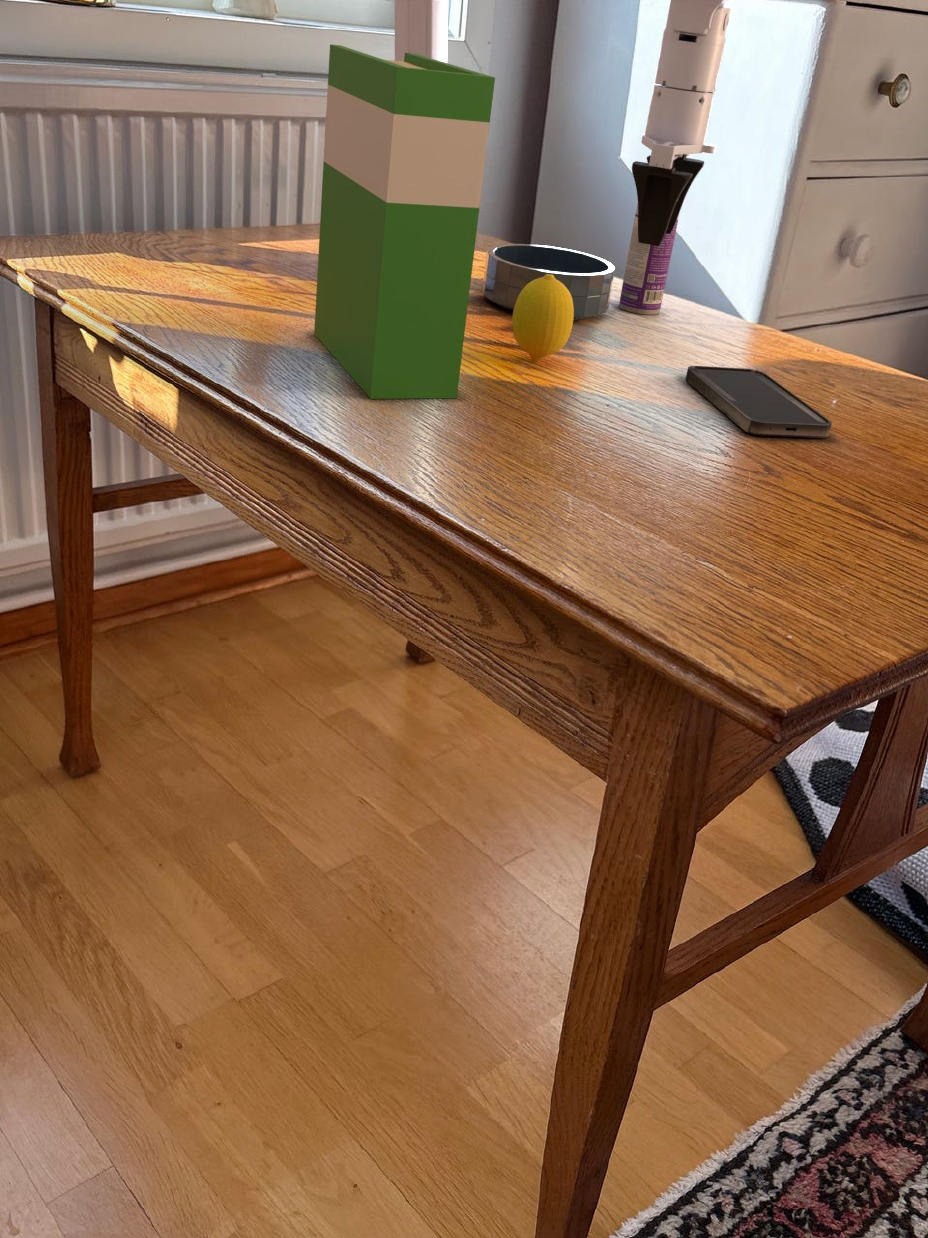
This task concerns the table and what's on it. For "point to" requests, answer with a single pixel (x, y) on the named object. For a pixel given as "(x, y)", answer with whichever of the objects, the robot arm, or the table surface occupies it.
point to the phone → (758, 402)
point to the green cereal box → (400, 219)
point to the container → (646, 273)
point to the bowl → (528, 262)
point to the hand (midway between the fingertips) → (655, 237)
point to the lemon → (543, 317)
